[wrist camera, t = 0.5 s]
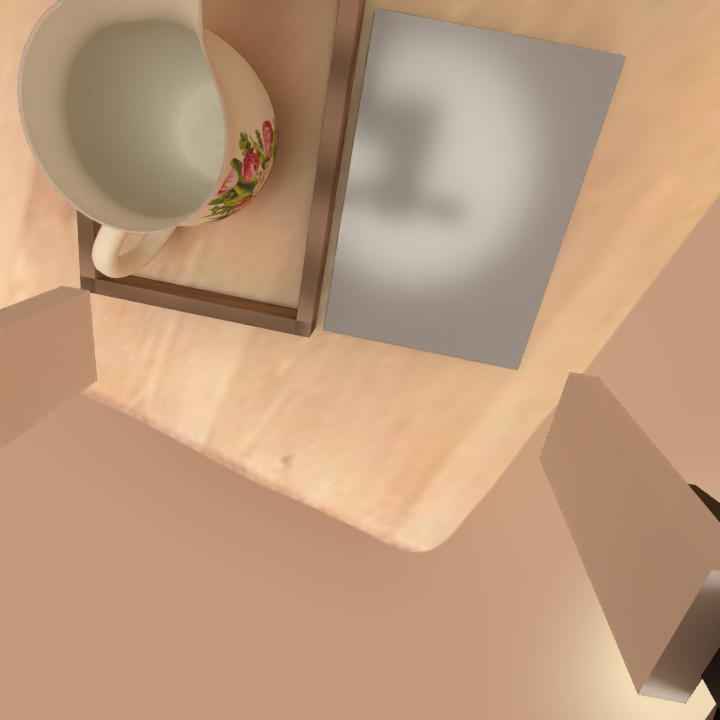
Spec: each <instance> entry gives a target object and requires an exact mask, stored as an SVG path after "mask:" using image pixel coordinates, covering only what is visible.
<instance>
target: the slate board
mask: <svg viewBox="0 0 720 720" xmlns="http://www.w3.org/2000/svg"><path fill="white" fill-rule="evenodd" d="M625 58H626V56H622V55H617V54H612V53H606V52H601V51H596V50H591V49H586V48H581V47H575V46H570V45H565V44H560V43H555V42H550V41H544V40H539V39H534V38H529V37H524V36H519V35H513V34H508V33H503V32H498V31H493V30H488V29H482V28H477V27H472V26H467V25H462V24H457V23H451V22H446V21H441V20H436V19H431V18H426V17H420V16H415V15H410V14H405V13H400V12H395V11H389V10H384V9H379V8H375V13H374V20H373V26H372V32H371V38H370V44H369V51H368V57H367V63H366V69H365V75H364V82H363V88H362V94H361V100H360V106H359V113H358V119H357V125H356V131H355V137H354V144H353V150H352V156H351V162H350V168H349V175H348V181H347V187H346V193H345V199H344V206H343V212H342V218H341V224H340V230H339V237H338V243H337V249H336V255H335V262H334V268H333V274H332V280H331V286H330V293H329V299H328V305H327V311H326V317H325V324H324V330H325V331H330V332H334V333H339V334H344V335H349V336H354V337H359V338H364V339H369V340H373V341H378V342H383V343H388V344H393V345H398V346H403V347H407V348H412V349H417V350H422V351H427V352H432V353H437V354H441V355H446V356H451V357H456V358H461V359H466V360H471V361H475V362H480V363H485V364H490V365H495V366H500V367H505V368H509V369H514V370H518V368H519V365H520V362H521V359H522V357H523V354H524V351H525V348H526V345H527V342H528V339H529V336H530V333H531V330H532V328H533V325H534V322H535V319H536V316H537V313H538V310H539V307H540V304H541V301H542V299H543V296H544V293H545V290H546V287H547V284H548V281H549V278H550V275H551V272H552V270H553V267H554V264H555V261H556V258H557V255H558V252H559V249H560V246H561V243H562V241H563V238H564V235H565V232H566V229H567V226H568V223H569V220H570V217H571V215H572V212H573V209H574V206H575V203H576V200H577V197H578V194H579V191H580V188H581V186H582V183H583V180H584V177H585V174H586V171H587V168H588V165H589V162H590V159H591V157H592V154H593V151H594V148H595V145H596V142H597V139H598V136H599V133H600V130H601V128H602V125H603V122H604V119H605V116H606V113H607V110H608V107H609V104H610V101H611V99H612V96H613V93H614V90H615V87H616V84H617V81H618V78H619V75H620V72H621V70H622V67H623V64H624V61H625Z"/></svg>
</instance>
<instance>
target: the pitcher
mask: <svg viewBox="0 0 720 720" xmlns="http://www.w3.org/2000/svg"><path fill="white" fill-rule="evenodd" d="M18 104H19V112H20V117H21V123H22V126H23V130H24V133H25V137H26V139H27V142H28V144H29V147H30V149H31V152H32V154H33V156H34V158H35V160H36V162H37V163H38V165H39V167H40V169H41V170H42V172H43V173H44V175H45V176H46V178H47V179H48V181H49V182H50V183H51V184H52V186H53V187H54V188H55V189H56V191H57V192H58V193H59V194H60V195H61V196H62V197H63V198H64V199H65V200H66V201H67V202H68V203H70V204H71V205H72V206H73V207H74V208H76V209H77V210H78V211H79V212H81V213H82V214H84V215H85V216H87V217H88V218H90V219H92V220H94V221H96V222H98V223H100V224H102V226H101V228H100V230H99V232H98V234H97V237H96V239H95V242H94V245H93V249H92V261H93V263H94V265H95V267H96V269H97V270H99V271H100V272H101V273H103V274H104V275H106V276H108V277H112V278H121V277H126V276H129V275H131V274H134V273H135V272H137V271H139V270H141V269H142V268H143V267H144V266H146V265H147V264H148V263H149V262H150V261H151V260H152V259H153V258H154V257H155V256H156V255H157V254H158V252H159V251H160V250H161V249H162V247H163V246H164V245H165V243H166V242H167V241H168V239H169V238H170V236H171V235H172V233H173V232H174V230H175V228H176V227H177V226H198V225H204V224H209V223H213V222H215V221H218V220H221V219H224V218H226V217H228V216H230V215H232V214H234V213H236V212H237V211H239V210H240V209H242V208H243V207H244V206H246V205H247V204H248V203H249V202H250V201H251V200H252V199H253V198H254V197H255V196H256V195H257V194H258V193H259V191H260V190H261V189H262V187H263V186H264V184H265V182H266V180H267V179H268V177H269V174H270V172H271V169H272V167H273V164H274V160H275V156H276V149H277V127H276V120H275V115H274V111H273V107H272V104H271V102H270V99H269V96H268V94H267V92H266V90H265V88H264V86H263V84H262V82H261V81H260V79H259V77H258V76H257V74H256V73H255V71H254V70H253V69H252V67H251V66H250V65H249V64H248V62H247V61H246V60H245V59H244V58H243V57H242V56H241V55H240V54H239V53H238V52H237V51H236V50H235V49H234V48H233V47H232V46H231V45H229V44H228V43H227V42H225V41H224V40H223V39H221V38H220V37H219V36H217V35H216V34H214V33H213V32H211V31H209V30H207V29H206V28H204V27H203V22H202V0H60V1H58V2H56V3H55V4H54V5H53V6H52V7H50V8H49V9H48V10H47V11H46V12H45V13H44V15H43V16H42V17H41V18H40V19H39V20H38V22H37V23H36V25H35V27H34V28H33V30H32V32H31V33H30V36H29V38H28V40H27V42H26V45H25V47H24V51H23V54H22V58H21V62H20V68H19V74H18ZM128 233H137V234H146V236H145V237H144V238H143V239H142V240H141V241H140V243H139V244H138V245H137V246H136V247H135V248H133V249H132V250H131V251H129V252H128V253H126V254H124V255H122V256H119V257H118V254H119V250H120V247H121V245H122V243H123V241H124V239H125V237H126V235H127V234H128Z"/></svg>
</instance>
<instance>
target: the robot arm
mask: <svg viewBox="0 0 720 720" xmlns="http://www.w3.org/2000/svg"><path fill="white" fill-rule="evenodd" d="M95 381H97V373H96V362H95V350H94V338H93V326H92V314H91V303H90V291H89V290H83V289H77V288H71V287H65V286H61V287H58V288H56V289H53V290H51V291H48V292H45V293H43V294H40V295H37V296H35V297H32V298H29V299H27V300H24V301H22V302H19V303H16V304H14V305H11V306H8V307H6V308H3V309H1V310H0V450H1V449H2V448H4V447H5V446H6V445H8V444H9V443H11V442H12V441H13V440H15V439H16V438H18V437H19V436H20V435H22V434H23V433H25V432H26V431H27V430H29V429H30V428H31V427H33V426H34V425H36V424H37V423H38V422H40V421H41V420H43V419H44V418H45V417H47V416H48V415H50V414H51V413H52V412H54V411H55V410H56V409H58V408H59V407H61V406H62V405H63V404H65V403H66V402H67V401H69V400H70V399H72V398H73V397H74V396H76V395H77V394H79V393H80V392H81V391H83V390H84V389H86V388H87V387H88V386H90V385H91V384H93V383H94V382H95ZM540 461H541V464H542V466H543V468H544V471H545V473H546V476H547V478H548V480H549V482H550V485H551V487H552V490H553V492H554V495H555V497H556V499H557V502H558V504H559V507H560V509H561V511H562V514H563V516H564V518H565V521H566V523H567V526H568V528H569V530H570V533H571V535H572V538H573V540H574V543H575V545H576V547H577V549H578V552H579V555H580V557H581V559H582V562H583V564H584V566H585V569H586V571H587V574H588V576H589V578H590V581H591V583H592V586H593V588H594V590H595V593H596V595H597V598H598V600H599V602H600V605H601V607H602V610H603V612H604V614H605V617H606V619H607V622H608V624H609V626H610V629H611V631H612V633H613V636H614V638H615V641H616V643H617V646H618V648H619V650H620V653H621V655H622V657H623V660H624V662H625V665H626V667H627V669H628V672H629V674H630V676H631V679H632V681H633V684H634V686H635V688H636V691H637V693H638V695H643V696H649V697H654V698H659V699H664V700H669V701H675V702H680V703H686V702H687V701H688V699H689V698H690V696H691V695H692V693H693V692H694V690H695V689H696V687H697V686H698V684H699V683H700V681H701V680H702V679H703V680H704V682H705V684H706V686H707V688H708V690H709V691H710V693H711V695H712V697H713V699H714V700H715V702H716V705H715V706H714V708H713V709H712V711H711V712H710V714H709V715H708V716H707V718H706V719H705V720H720V503H719V502H717V501H716V500H715V499H713V498H712V497H711V496H710V495H708V494H707V493H705V492H704V491H703V490H701V489H700V488H699V487H697V486H696V485H691V484H687V483H686V482H685V480H684V479H683V478H682V477H681V475H680V474H679V473H678V472H677V471H676V469H675V468H674V467H673V466H672V465H671V464H670V462H669V461H668V460H667V459H666V457H665V456H664V455H663V454H662V453H661V451H660V450H659V449H658V448H657V447H656V445H655V444H654V443H653V442H652V441H651V440H650V438H649V437H648V436H647V435H646V433H645V432H644V431H643V430H642V429H641V427H640V426H639V425H638V424H637V423H636V421H635V420H634V419H633V418H632V417H631V416H630V414H629V413H628V412H627V411H626V409H625V408H624V407H623V406H622V405H621V403H620V402H619V401H618V400H617V399H616V397H615V396H614V395H613V394H612V393H611V392H610V390H609V389H608V388H607V387H606V386H605V384H604V383H603V382H602V381H601V380H600V378H599V377H594V376H588V375H583V374H577V373H571V372H569V375H568V378H567V381H566V384H565V387H564V389H563V392H562V395H561V398H560V401H559V404H558V406H557V409H556V412H555V415H554V418H553V421H552V424H551V426H550V429H549V432H548V435H547V438H546V441H545V443H544V446H543V449H542V452H541V455H540Z"/></svg>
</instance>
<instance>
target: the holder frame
mask: <svg viewBox="0 0 720 720" xmlns="http://www.w3.org/2000/svg"><path fill="white" fill-rule="evenodd" d="M364 6H365V0H340V3H339V11H338V18H337V25H336V33H335V40H334V47H333V55H332V62H331V69H330V77H329V84H328V91H327V99H326V106H325V113H324V121H323V128H322V135H321V143H320V150H319V158H318V165H317V172H316V180H315V187H314V194H313V202H312V209H311V216H310V224H309V231H308V238H307V246H306V253H305V260H304V268H303V275H302V282H301V290H300V297H299V305H298V310H297V309H292V308H287V307H282V306H277V305H272V304H267V303H263V302H258V301H253V300H248V299H243V298H238V297H233V296H228V295H224V294H219V293H214V292H209V291H204V290H199V289H194V288H189V287H185V286H180V285H175V284H170V283H165V282H160V281H155V280H150V279H146V278H141V277H136V276H131V275H129V276H126V277H121V278H112V277H108V276H106V275H104V274H103V273H101V272H100V271H99V270H97V269H96V267H95V265H94V263H93V261H92V249H93V245H94V242H95V239H96V237H97V234H98V232H99V230H100V228H101V226H102V224H100V223H98V222H96V221H94V220H92V219H90V218H88V217H87V216H85V215H84V214H82V213H81V212H79V211H78V210H77V223H78V242H79V262H80V281H81V289H83V290H89V291H90V293H95V294H100V295H105V296H110V297H114V298H119V299H124V300H129V301H134V302H139V303H144V304H148V305H153V306H158V307H163V308H168V309H173V310H178V311H182V312H187V313H192V314H197V315H202V316H207V317H211V318H216V319H221V320H226V321H231V322H236V323H241V324H245V325H250V326H255V327H260V328H265V329H270V330H275V331H279V332H284V333H289V334H294V335H299V336H304V337H309V338H310V336H311V334H312V332H313V330H314V329H315V325H316V319H317V312H318V306H319V299H320V293H321V286H322V280H323V273H324V267H325V260H326V254H327V247H328V241H329V234H330V228H331V221H332V215H333V208H334V202H335V195H336V189H337V182H338V176H339V169H340V163H341V156H342V150H343V143H344V137H345V130H346V124H347V117H348V111H349V104H350V97H351V91H352V84H353V78H354V71H355V65H356V58H357V52H358V45H359V39H360V32H361V26H362V19H363V13H364Z"/></svg>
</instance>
